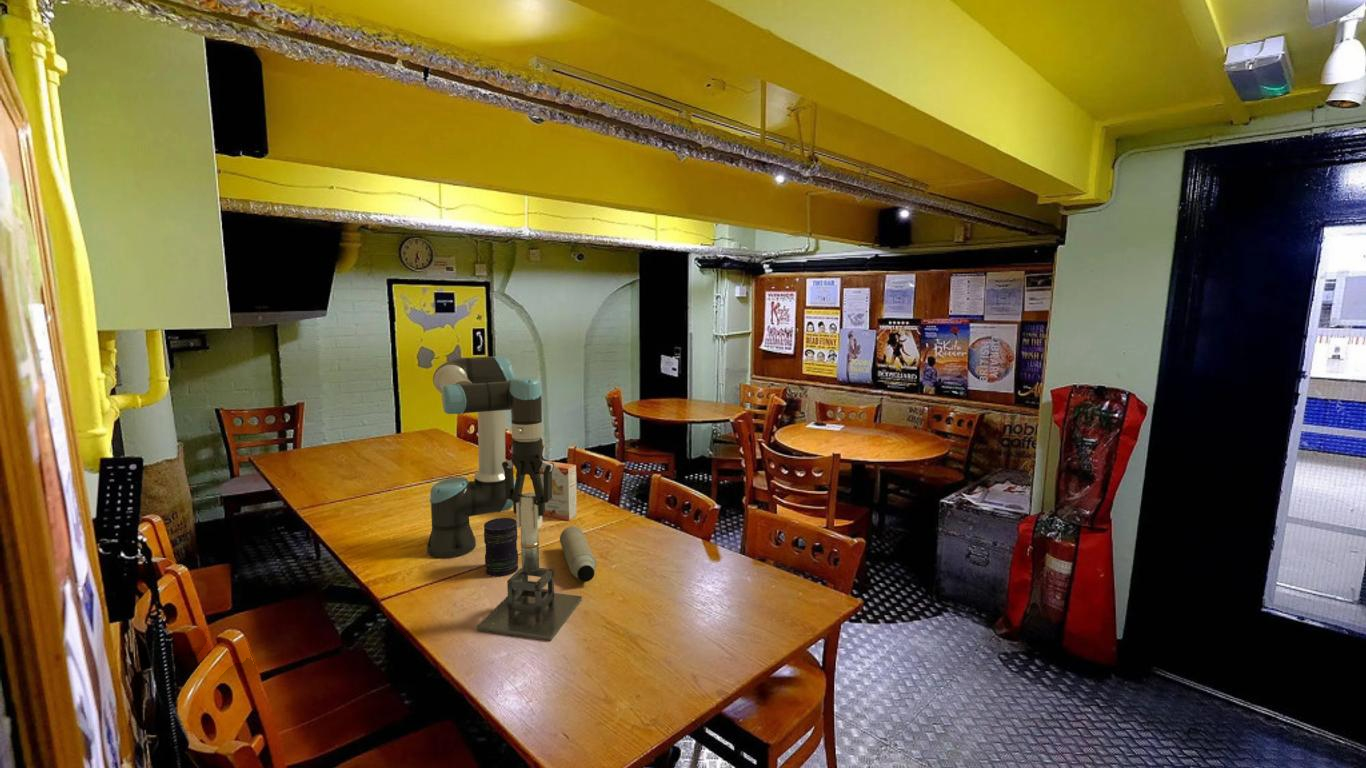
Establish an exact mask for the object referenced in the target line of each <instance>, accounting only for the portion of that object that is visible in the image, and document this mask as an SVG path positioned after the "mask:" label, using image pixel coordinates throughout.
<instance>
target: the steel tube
mask: <svg viewBox="0 0 1366 768" xmlns="http://www.w3.org/2000/svg"><path fill="white" fill-rule="evenodd" d="M536 503H537V500H536V496H535V492H524V493H522V494H521V495H520V519H521V527H520V547H521V568H522V571H523V572H527V573H531V572H535V571H537V570H539V568H540V546H539V545H540V540H539V538H540V537H539V535H540V534H539V529H535V512H534V505H535V504H536Z"/></svg>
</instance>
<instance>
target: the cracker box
mask: <svg viewBox="0 0 1366 768" xmlns="http://www.w3.org/2000/svg"><path fill="white" fill-rule="evenodd" d="M544 461H545V462H547V463H549V464H550V463H553V464H554V468H553V470H552V499H551V500H550V501H548V502H547V503H545V514H544V515H543V516H542V517H547V518H552V519H557V520H562V521H571V520H573V519H575V518H576V517H577V516H578V502H577V501H578V500H577V499H578V496H577V495H578V494H577V493H578V492H577V490H578V489H577V465H576V464H571V463H564V462H556V461H550V460H544ZM540 473H541V475H540V478H541V482H542V486H543V490H544V482H543V475H544V471H543V466H542V467H541V468H540Z"/></svg>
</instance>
